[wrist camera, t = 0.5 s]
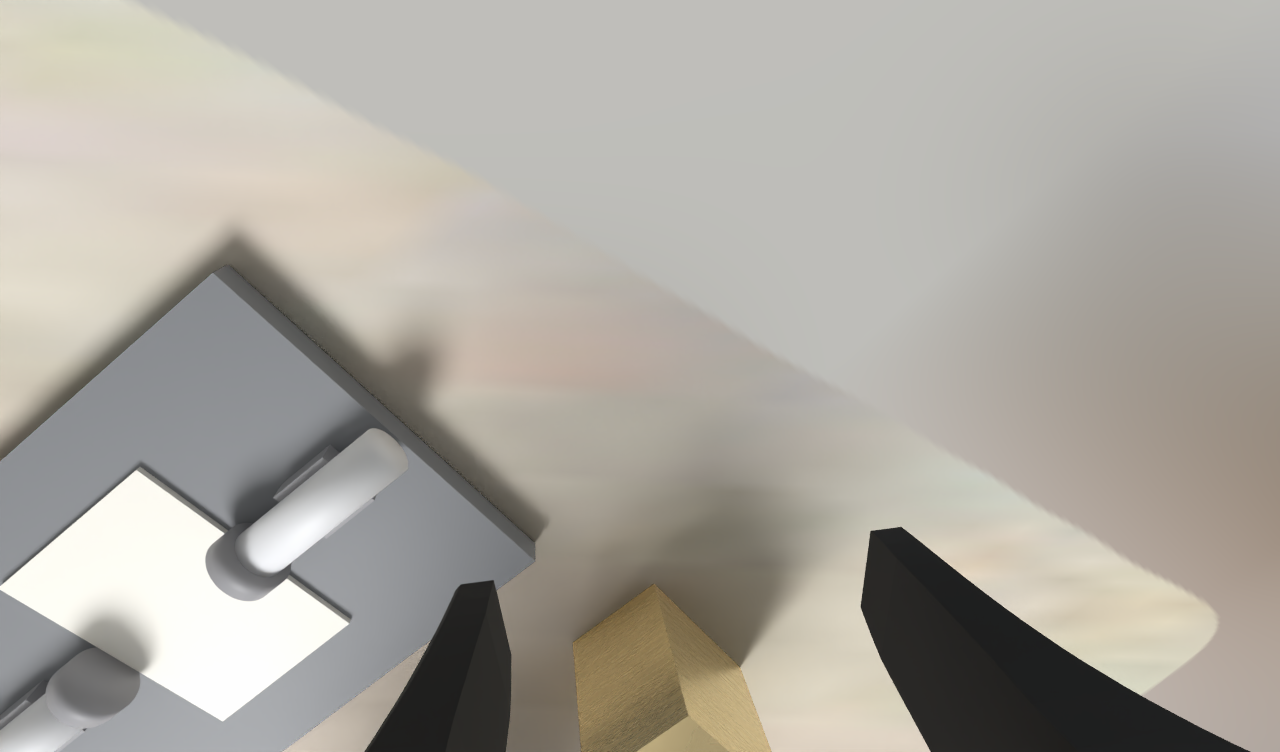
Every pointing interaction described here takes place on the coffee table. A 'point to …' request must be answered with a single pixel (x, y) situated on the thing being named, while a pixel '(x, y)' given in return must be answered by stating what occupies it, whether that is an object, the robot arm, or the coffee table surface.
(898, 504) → the coffee table surface
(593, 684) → the wooden block
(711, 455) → the coffee table surface
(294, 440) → the shaft rig
